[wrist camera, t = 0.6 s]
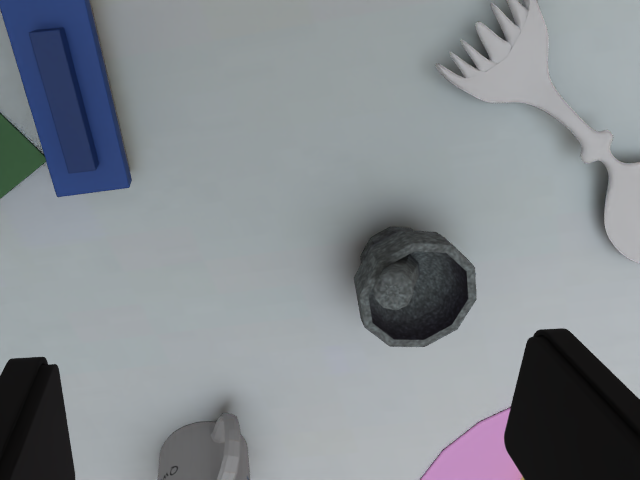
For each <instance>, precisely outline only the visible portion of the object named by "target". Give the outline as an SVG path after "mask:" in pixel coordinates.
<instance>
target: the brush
mask: <svg viewBox="0 0 640 480" xmlns="http://www.w3.org/2000/svg"><path fill="white" fill-rule="evenodd" d="M0 9H1V13H2V16H3V19H4V23H5V26H6V29H7V32H8V36H9V39H10V42H11V46H12V49H13V52H14V56H15V59H16V62H17V66H18V69H19V72H20V76H21V79H22V82H23V86H24V89H25V92H26V96H27V99H28V102H29V106H30V109H31V112H32V115H33V119H34V122H35V125H36V129H37V132H38V135H39V139H40V142H41V145H42V149H43V152H44V155H45V159H46V162H47V165H48V169H49V172H50V175H51V179H52V182H53V185H54V188H55V192H56V195H57V197H62V196H70V195H77V194H85V193H93V192H100V191H108V190H115V189H123V188H129V187H130V184H131V181H132V179H131V175H130V168H129V164H128V160H127V156H126V151H125V147H124V143H123V139H122V134H121V130H120V126H119V122H118V117H117V113H116V109H115V105H114V100H113V96H112V92H111V88H110V84H109V79H108V75H107V71H106V67H105V62H104V58H103V54H102V50H101V45H100V41H99V37H98V33H97V28H96V24H95V20H94V16H93V11H92V7H91V3H90V0H0Z"/></svg>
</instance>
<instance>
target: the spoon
mask: <svg viewBox="0 0 640 480" xmlns="http://www.w3.org/2000/svg"><path fill="white" fill-rule="evenodd" d="M506 1H507V3H508V6H509V8H510V10H511V13H512V16H513V19H514V23H513V22H512V21H511V20H510V19H509V18H508V17H507V16H506V15H505V14H504V13H503V12H502V11H501V10H500V9H499V8H498V7H497V6H496V5H495V4H494V3H491V8H492V10H493V12H494V14H495V16H496V18H497V20H498V23H499V25H500V27H501V29H502V31H503V34H504V36H505V40H503V39H502V38H500V37H499V36H498V35H497V34H495V33H494V32H493V31H492V30H491V29H490V28H488V27H487V26H486V25H485V24H483V23H481V22H479V21H478V22H476V24H475V27H476V30H477V33H478V35H479V37H480V40H481V41H482V43H483V45H484V47H485V49H486V51H487V53H488V55H489V59H490V60H489V59H487V58H485V57H484V56H483V55H481V54H480V53H479V52H478V51H476V50H475V49H474V48H473V47H472V46H471V45H469V44H468V43H467V42H466V41H464V40H463V39H460V42H461V44H462V46H463V47H464V49H465V50H466V52H467V53H468V55H469V56H470V58H471V59H472V61H473V62H474V64H475V65H476V68H477V69H476V68H474V67H472V66H471V65H469V64H468V63H466V62H465V61H464V60H462V59H461V58H460V57H458V56H457V55H456V54H454V53H452V52H451V51H449V54H450V56H451V58H452V59H453V60H454V62H455V63H456V65H457V66H458V68H459V69H460V71H461V72H462V74H463V76H459V75H457V74H455V73H454V72H452V71H450V70H449V69H447V68H446V67H444V66H442V65H440V64H435V66H436V68H437V69H438V71H439V72H440V73H441V74H442V75H443V76H444V77H445V78H446V79H447V80H448V81H450V82H451V83H452V84H453V85H455V86H457V87H458V88H460V89H462V90H463V91H465V92H467V93H469V94H471V95H472V96H474V97H476V98H478V99H480V100H482V101H485V102H489V103H510V102H517V103H525V104H529V105H532V106H535V107H537V108H539V109H541V110H543V111H545V112H546V113H548V114H549V115H551V116H553V117H554V118H555V119H557V120H558V121H559V122H561V123H562V124H563V125H564V126H565V127H566V128H568V129H569V130H570V131H571V132H572V134H573V135H574V136H575V137H576V138H577V140H578V141H579V142H580V145H581V154H580V157H581V160H582V161H583V162H584V163H586V164H589V163H592V162H594V161H596V160H600V161H601V162H603V164H604V165H605V167H606V168H607V171H608V175H609V182H608V188H607V193H606V200H605V209H604V222H605V229H606V232H607V235H608V237H609V239H610V240H611V242H612V244H613V245H614V246H615V247H616V249H617V250H618V251H619V252H620V253H621V254H622V255H624V256H625V257H626V258H628V259H630V260H632V261H634V262H637V263H640V162H636V163H623V162H621V161H619V160H617V159H616V158H615V157H614V156H613V154H612V153H611V150H610V146H611V143H612V141H613V135H612V133H611V132H610V131H609V130H604V131H596V130H593V129H592V128H591V127H590V126H588V125H587V124H586V123H585V122H584V121H583V120H582V119H581V118H580V116H579V115H578V114H577V113H576V112H575V111H574V110H573V109H572V108H571V107H570V106H569V105H568V104H567V102H566V101H565V100H564V99H563V98H562V97H561V95H560V94H559V93H558V91H557V90H556V88H555V87H554V85H553V83H552V81H551V78H550V75H549V70H548V49H549V36H548V30H547V27H546V23H545V21H544V18H543V15H542V13H541V10H540V8H539V5H538V2H537V0H523V4H522V5H521V4H520V3H519V2H518V1H517V0H506Z"/></svg>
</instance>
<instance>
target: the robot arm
mask: <svg viewBox="0 0 640 480" xmlns="http://www.w3.org/2000/svg"><path fill="white" fill-rule="evenodd" d="M504 443H505V447H506V450H507V452H508V454H509V456H510V457H511V459H512V460H513V462H514V464H515V465H516V467H517V468H518V470H519V471H520V473H521V475H522V476H523V478H524V479H525V480H640V399H638V398H637V397H636V396H635V395H634V394H633V393H632V392H631V391H630V390H629V389H628V388H627V387H626V386H625V385H624V384H623V383H622V382H621V381H620V380H619V379H618V378H617V377H616V376H615V375H614V374H613V373H612V372H611V371H610V370H609V369H608V368H607V367H606V366H605V365H604V364H603V363H602V362H601V361H600V360H599V359H598V358H596V357H595V356H594V355H593V354H592V353H591V352H590V351H589V350H588V349H587V348H586V347H585V346H584V345H583V344H582V343H581V342H580V341H579V340H578V339H577V338H576V337H575V336H574V335H573V334H572V333H571V332H570V331H568V330H567V329H544V330H538V331H537V332H536V333H535V334H534V336H533V337H531V338H529V339H528V341H527V344H526V348H525V352H524V356H523V360H522V364H521V368H520V372H519V376H518V380H517V384H516V388H515V392H514V396H513V400H512V404H511V408H510V413H509V417H508V421H507V425H506V429H505V433H504ZM0 480H75V471H74V464H73V458H72V451H71V445H70V438H69V432H68V425H67V419H66V412H65V406H64V399H63V393H62V387H61V380H60V374H59V368H58V366H57V365H56V364H52V365H48V363H47V360H46V358H45V357H32V358H14V359H10V360H9V361H8V362H7V364H6V366H5V368H4V370H3V372H2V374H1V375H0Z"/></svg>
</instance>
